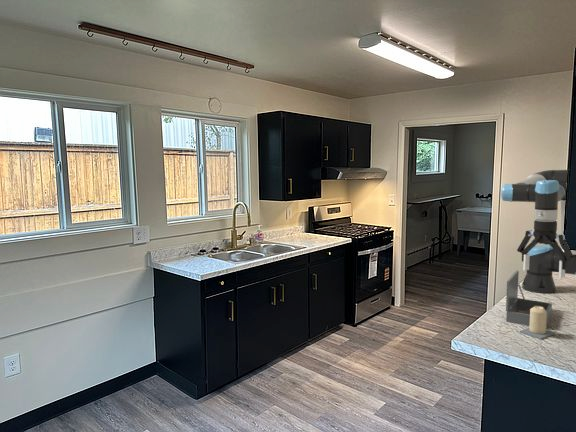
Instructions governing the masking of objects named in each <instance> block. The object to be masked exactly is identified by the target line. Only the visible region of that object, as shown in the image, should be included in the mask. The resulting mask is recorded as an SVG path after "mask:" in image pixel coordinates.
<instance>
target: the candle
mask: <svg viewBox="0 0 576 432" xmlns="http://www.w3.org/2000/svg"><path fill="white" fill-rule="evenodd" d="M529 315H530V326H528V328H529V330H530V331H531V332H533V333H536V334H545V333H546V330H547V326H546V318H547V311H546V310H545V309H544V308H543V307H541V306H534V307H533V308H531V309H530V310H529Z"/></svg>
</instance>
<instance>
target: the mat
mask: <svg viewBox="0 0 576 432" xmlns="http://www.w3.org/2000/svg"><path fill="white" fill-rule="evenodd" d="M519 333H520V334H524V335H525V336H526V335H527V336H529V337H532V338H535V339H538V340H543V339H546V338H548V337H552V336H555V335H556V332H555V331H552V330H550V329H546V333H545V334H536V333H533V332H531V331H530V330H529V327H527V328H525V329H522V330H519Z"/></svg>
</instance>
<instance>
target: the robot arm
mask: <svg viewBox="0 0 576 432" xmlns="http://www.w3.org/2000/svg"><path fill="white" fill-rule="evenodd" d="M567 170H568V169H549V170H542V171H539V172H535V173H533V174H530V175H528V176H526V178H525V179H524V180H522V181H519V182H516V183H504V184H503V185H502V186H501V189H500V190H501V191H500V197H501V200H502V201H504V202H511V203H512V202H514V203H515V202H517V203H518V202H520V203H521V202H522V203H523V202H525V203H534V219H535V220H534V221H533V230H531V229H530V230H526V231H525V235H524V237H523V239H522V241H521V242H520V244H519V245H518V247H517V249H516V252H518V253H521V262H523V264H522V265H523V269H522V270H523V271H526V272H525V273H526V274H525V276H524V278H523V281H522V282H521V283H522V284H521V289H524V290H526V291H528V292H532V293H537V294H538V293H540V294H551V293H555V292H556V290H557V289H556V288H557V287H556V283H555V280H554V277H553V273H558V278H559V279H563V278H565V276H566V274H568V275H573V276H574V275H575V276H576V251H572V250H568V249H570V248H569V246H568V244H567V242H566V241H565V240H566V239H565V235H564V234H563V231H564V214H565V200H566V183H567ZM559 202H560V234H557V230H558V221H557V220H558V213H559V212H558V211H559V210H558V205H559ZM532 237H534V239H533V240H531V238H532ZM530 240H531V242H530ZM557 240H558V241H557ZM529 242H530V243H529ZM558 242H559V243H558ZM537 244H539V245H537ZM540 244H541V245H540ZM542 244H543V245H542ZM563 244H564V245H563Z"/></svg>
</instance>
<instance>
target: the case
mask: <svg viewBox="0 0 576 432" xmlns="http://www.w3.org/2000/svg"><path fill="white" fill-rule="evenodd" d="M519 274H520V271H519V270H515V272H513V274H512V275H511V276H510V278H508V279H507V281H506V297H505V298H506V299H505V301H506V302H505V303H506V304H505V312H506V323H507V322H508V323H511V324H517V325H522V326H528V327H529V326H530V313H529V314H528V313H523V312H518V311H517V310H518V309H521V310H524V311H525V310H527V311H530V309H531V308H533V307H534V306H541V307H543V308H544V309H545V310H546V311H547V318H546V327H547V326H548V323H549V321H550V318H551V316H552V312H553V303H552V302H544V301H538V300H533V299H526V298H525V296H524V295H525V294H524V293H523V290H522V289H523V288H522V286H521V284H519ZM518 291H519V292H520V295H521V297H522V298H520V297H518V296H519V292H518Z"/></svg>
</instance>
